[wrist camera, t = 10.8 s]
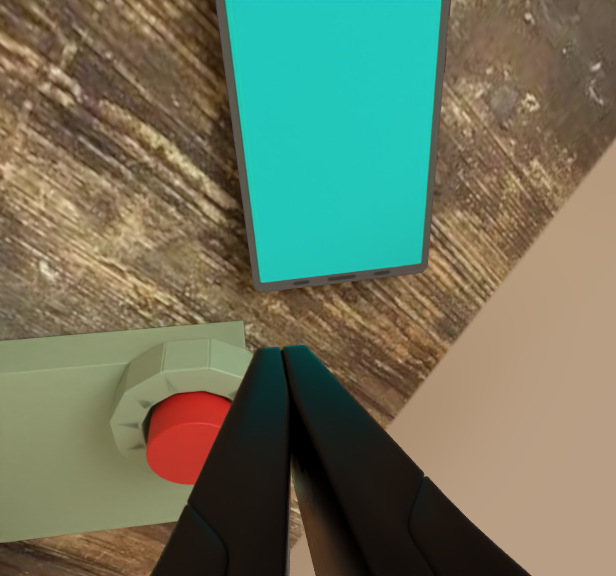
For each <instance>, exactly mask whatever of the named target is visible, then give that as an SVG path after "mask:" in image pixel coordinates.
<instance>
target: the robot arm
mask: <svg viewBox="0 0 616 576" xmlns="http://www.w3.org/2000/svg"><path fill="white" fill-rule="evenodd" d="M291 473H292V479H293V483H294V488H295V492H296V496H297V500H298V505H299V509H300V513H301V517H302V521H303V525H304V529H305V533H306V538H307V541H308V546H309V550H310V554H311V558H312V562H313V566H314V571H315V575H316V576H531V575H530V574H529V573H528V572H527V571H526V570H524V569H523V568H522V567H521V566H520V565H519V564H517V563H516V562H515V561H514V560H513V559H512V558H511V557H510V556H508V555H507V554H506V553H505V552H504V551H503V550H502V549H500V548H499V547H498V546H497V545H496V544H495V543H494V542H493V541H492V540H490V539H489V538H488V537H487V536H486V535H485V534H484V533H483V532H482V531H481V530H480V529H478V527H476V526H475V525H474V524H473V523H472V522H471V521H470V520H469V519H468V518H467V517H466V516H465V515H464V514H463V513H462V512H461V511H460V510H459V509H458V508H457V507H456V506H455V505H454V504H453V503H452V502H451V501H450V500H449V499H448V498H447V497H446V496H445V495H444V494H443V493H442V492H441V490H440V489H439V488H438V487H437V486H436V485H435V484H434V483H433V482H432V481H431V480H430V478H429V477H427V476H426V477H424V472H423V471H422V470H421V469H420V468H419V467H418V466H417V465H416V464H415V463H414V462H413V461H412V459H411V458H410V457H409V456H408V455H407V454H406V453H405V452H404V451H403V450H402V449H401V447H400V446H399V445H398V444H397V443H396V442H395V441H394V440H393V439H392V438H391V437H390V436H389V434H388V433H387V432H386V431H385V430H384V429H383V428H382V427H381V426H380V425H379V424H378V423H377V422H376V420H375V419H374V418H373V417H372V416H371V415H370V414H369V413H368V412H367V411H366V410H365V409H364V408H363V406H362V405H361V404H360V403H359V402H358V401H357V400H356V399H355V398H354V397H353V396H352V395H351V393H350V392H349V391H348V390H347V389H346V388H345V387H344V386H343V385H342V384H341V383H340V382H339V381H338V379H337V378H336V377H335V376H334V375H333V374H332V373H331V372H330V371H329V370H328V369H327V368H326V367H325V365H324V364H323V363H322V362H321V361H320V360H319V359H318V358H317V357H316V356H315V355H314V354H313V352H312V351H311V350H310V349H309V348H308V347H307V346H305V345H291V346H284V347H283V348H282V349H280V348H279V347H267V348H258V349H257V350H256V351H255V353H254V355H253V357H252V359H251V361H250V364H249V366H248V368H247V370H246V372H245V375H244V377H243V379H242V381H241V383H240V386H239V388H238V390H237V392H236V394H235V397H234V399H233V401H232V403H231V405H230V408H229V410H228V412H227V414H226V416H225V419H224V421H223V423H222V425H221V427H220V430H219V432H218V434H217V436H216V438H215V441H214V443H213V445H212V447H211V449H210V452H209V454H208V456H207V458H206V460H205V463H204V465H203V467H202V469H201V471H200V474H199V476H198V478H197V480H196V482H195V484H194V487H193V489H192V491H191V493H190V495H189V498H188V500H187V505H185V506H184V508H183V510H182V512H181V515H180V517H179V519H178V521H177V523H176V526H175V528H174V530H173V532H172V534H171V536H170V538H169V540H168V542H167V544H166V546H165V548H164V550H163V552H162V554H161V556H160V558H159V560H158V562H157V564H156V565H155V567H154V569H153V571H152V572H151V574H150V576H289V573H290V572H289V570H290V508H291Z"/></svg>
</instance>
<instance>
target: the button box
mask: <svg viewBox="0 0 616 576" xmlns="http://www.w3.org/2000/svg"><path fill="white" fill-rule="evenodd" d="M252 357H253V355H252V353H251V352H250V351H248V350H246V344H245V333H244V322H243V321H231V322H219V323H207V324H195V325H183V326H171V327H159V328H148V329H136V330H124V331H112V332H100V333H88V334H77V335H65V336H53V337H41V338H29V339H17V340H5V341H0V543H4V542H12V541H20V540H28V539H36V538H45V537H53V536H61V535H69V534H77V533H85V532H93V531H102V530H110V529H118V528H126V527H134V526H142V525H150V524H159V523H167V522H175V521H178V519H179V517H180V515H181V512H182V510H183V508H184V506H185V505H187V500H188V498H189V495H190V493H191V491H192V489H193V487H194V485H184V484H177V483H174V482H170V481H168V480H165V479H163V478H161V477H160V476H158V475H157V474H156V473H155V472H154V471H153V470H152V469H151V468H150V466H149V464H148V462H147V458H146V449H147V442H148V435H149V428H150V422H151V417H152V414H153V412H154V410H155V409H156V407H157V406H158V405H159V404H160V403H161V402H162V401H163V400H165V399H166V398H168V397H170V396H172V395H174V394H177V393H185V392H195V391H207V392H210V393H213V394H217V395H220V396H224V397H226V398H227V399H229V400H230V401H231V402H232V401H233V399H234V397H235V394H236V392H237V390H238V388H239V386H240V383H241V381H242V379H243V377H244V375H245V372H246V370H247V368H248V366H249V364H250V361H251V359H252Z"/></svg>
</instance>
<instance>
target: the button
mask: <svg viewBox="0 0 616 576" xmlns="http://www.w3.org/2000/svg"><path fill="white" fill-rule="evenodd" d="M231 403H232V402H231V401H230V400H229V399H227V398H226V397H224V396H220V395H217V394H213V393H210V392H207V391H195V392H185V393H177V394H174V395H172V396H170V397H168V398H166V399H165V400H163V401H162V402H161V403H160V404H159V405H158V406H157V407H156V409H155V410H154V412H153V414H152V417H151V422H150V428H149V435H148V442H147V449H146V458H147V462H148V464H149V466H150V468H151V469H152V470H153V471H154V472H155V473H156V474H157V475H158V476H160V477H161V478H163V479H165V480H168V481H170V482H174V483H177V484H184V485H194V484H195V482H196V480H197V478H198V476H199V474H200V471H201V469H202V467H203V465H204V463H205V460H206V458H207V456H208V454H209V452H210V449H211V447H212V445H213V443H214V441H215V438H216V436H217V434H218V432H219V430H220V427H221V425H222V423H223V421H224V419H225V416H226V414H227V412H228V410H229V408H230V405H231Z"/></svg>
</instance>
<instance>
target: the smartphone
mask: <svg viewBox="0 0 616 576" xmlns="http://www.w3.org/2000/svg"><path fill="white" fill-rule="evenodd" d="M215 1H216V8H217V16H218V23H219V31H220V38H221V46H222V53H223V60H224V68H225V75H226V83H227V90H228V98H229V105H230V113H231V120H232V128H233V135H234V142H235V150H236V157H237V165H238V172H239V180H240V187H241V195H242V202H243V210H244V217H245V224H246V232H247V239H248V247H249V254H250V262H251V269H252V277H253V284H254V288H255V289H256V290H257V291H259V292H270V291H278V290H286V289H295V288H303V287H311V286H319V285H327V284H335V283H344V282H352V281H360V280H368V279H376V278H384V277H393V276H401V275H409V274H417V273H421V272H423V271H424V270H425V269H426V268H427V265H428V253H429V242H430V230H431V218H432V206H433V195H434V183H435V171H436V160H437V148H438V136H439V124H440V113H441V101H442V89H443V77H444V72H445V62H446V42H447V30H448V19H449V14H450V3H451V0H215Z"/></svg>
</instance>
